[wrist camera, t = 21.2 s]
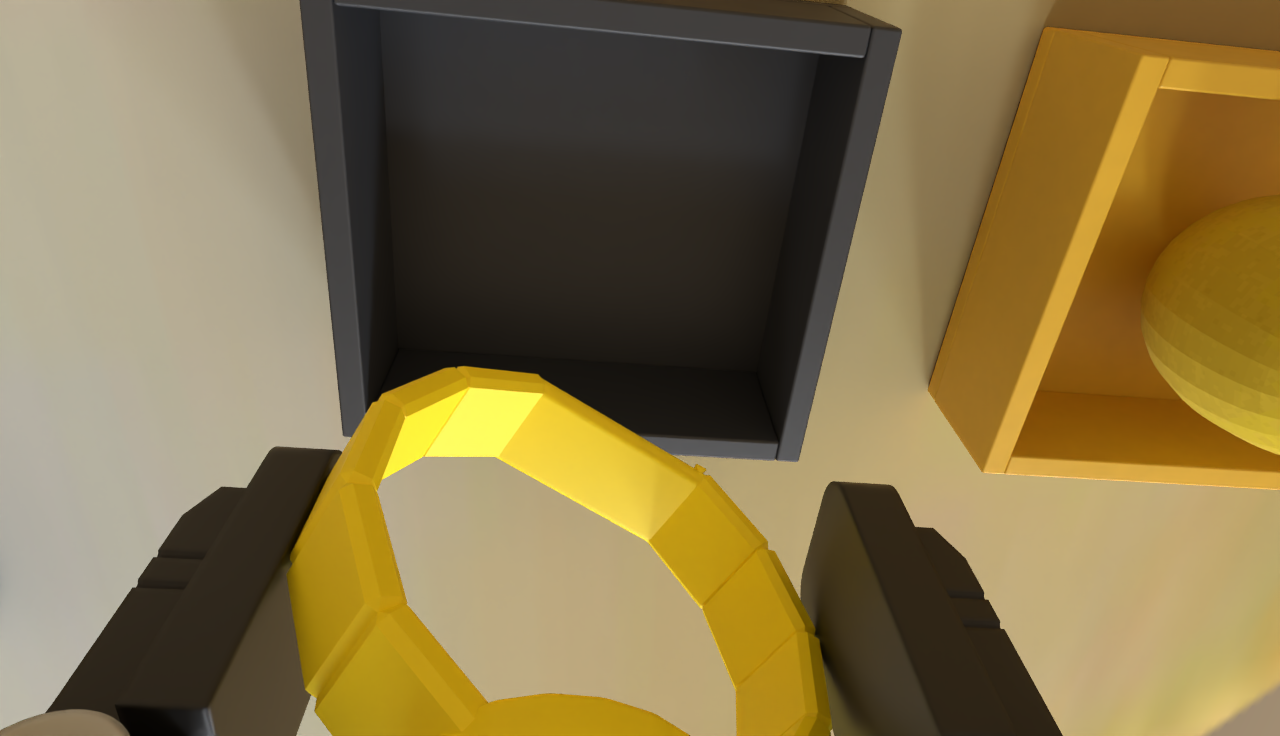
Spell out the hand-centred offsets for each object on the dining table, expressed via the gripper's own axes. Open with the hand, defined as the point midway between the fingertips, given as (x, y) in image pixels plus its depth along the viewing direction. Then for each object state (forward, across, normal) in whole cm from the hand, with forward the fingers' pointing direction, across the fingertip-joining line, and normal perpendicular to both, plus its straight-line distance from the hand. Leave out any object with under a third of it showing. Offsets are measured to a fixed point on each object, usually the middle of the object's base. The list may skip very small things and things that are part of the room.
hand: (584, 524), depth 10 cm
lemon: (+12, -16, 0) cm, 20 cm away
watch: (+2, 0, 0) cm, 2 cm away
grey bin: (+13, 0, 0) cm, 13 cm away
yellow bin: (+13, -16, 0) cm, 20 cm away
